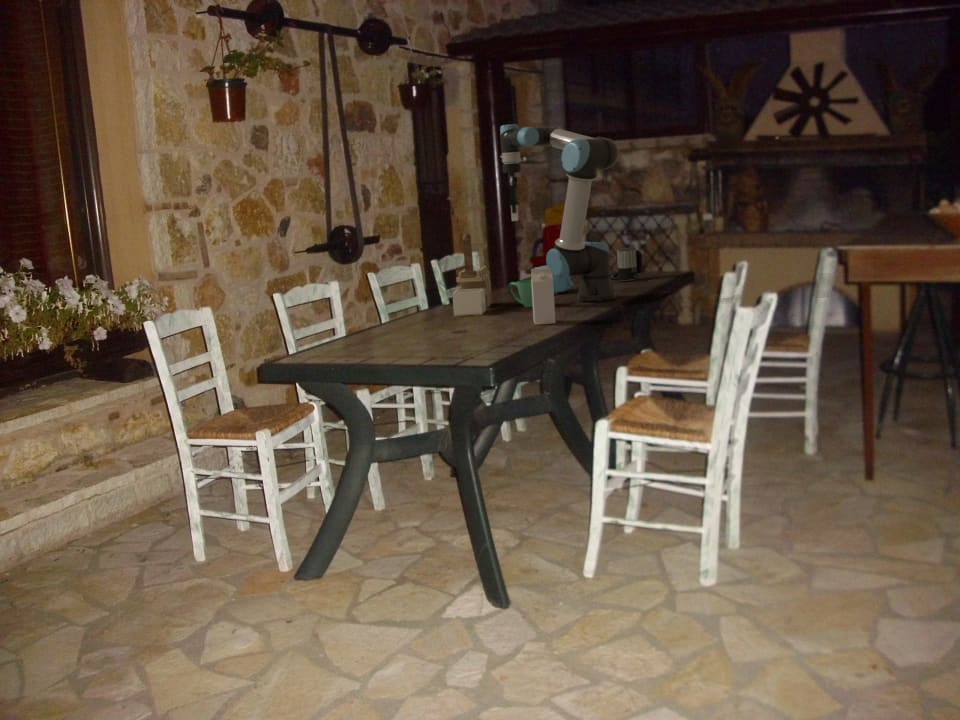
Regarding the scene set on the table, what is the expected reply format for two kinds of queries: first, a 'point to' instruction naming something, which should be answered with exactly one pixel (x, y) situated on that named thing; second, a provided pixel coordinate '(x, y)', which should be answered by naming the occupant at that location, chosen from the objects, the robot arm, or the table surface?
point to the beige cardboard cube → (469, 302)
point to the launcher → (478, 283)
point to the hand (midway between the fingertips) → (515, 220)
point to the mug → (522, 292)
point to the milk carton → (543, 296)
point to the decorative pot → (559, 282)
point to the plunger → (468, 257)
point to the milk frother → (628, 263)
